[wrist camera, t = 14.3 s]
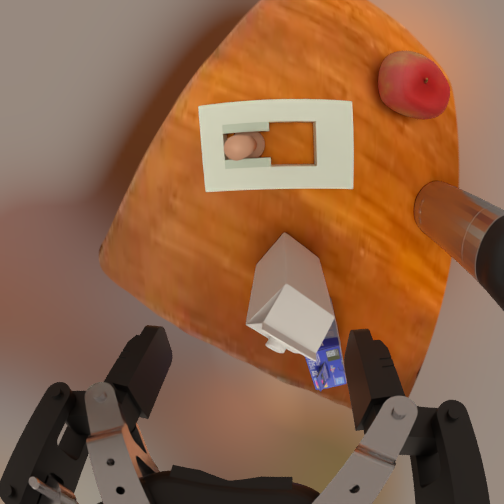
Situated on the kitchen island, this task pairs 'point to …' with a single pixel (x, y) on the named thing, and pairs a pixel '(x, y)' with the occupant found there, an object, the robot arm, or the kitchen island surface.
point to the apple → (413, 85)
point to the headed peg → (244, 145)
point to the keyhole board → (260, 169)
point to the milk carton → (290, 299)
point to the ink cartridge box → (328, 361)
